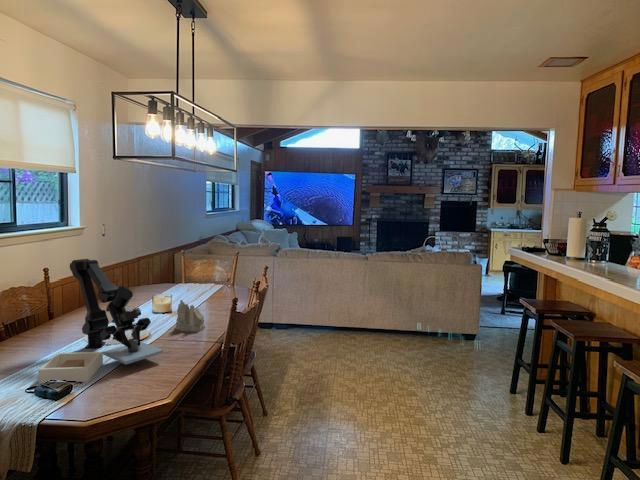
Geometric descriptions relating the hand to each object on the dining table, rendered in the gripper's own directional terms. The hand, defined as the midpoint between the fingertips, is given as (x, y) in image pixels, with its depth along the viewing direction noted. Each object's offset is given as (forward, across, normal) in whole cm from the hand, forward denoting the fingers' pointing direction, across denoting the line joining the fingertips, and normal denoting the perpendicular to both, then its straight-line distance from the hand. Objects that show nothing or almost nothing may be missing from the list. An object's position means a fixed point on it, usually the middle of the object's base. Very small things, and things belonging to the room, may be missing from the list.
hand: (134, 346), depth 173 cm
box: (-1, -20, +11) cm, 23 cm away
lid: (+2, 0, +4) cm, 4 cm away
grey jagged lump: (-11, +44, +21) cm, 50 cm away
